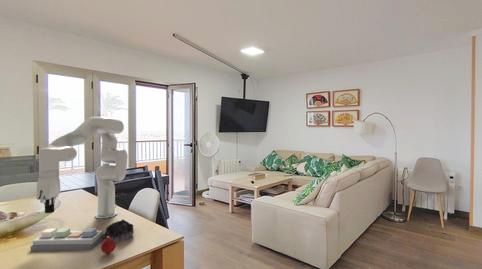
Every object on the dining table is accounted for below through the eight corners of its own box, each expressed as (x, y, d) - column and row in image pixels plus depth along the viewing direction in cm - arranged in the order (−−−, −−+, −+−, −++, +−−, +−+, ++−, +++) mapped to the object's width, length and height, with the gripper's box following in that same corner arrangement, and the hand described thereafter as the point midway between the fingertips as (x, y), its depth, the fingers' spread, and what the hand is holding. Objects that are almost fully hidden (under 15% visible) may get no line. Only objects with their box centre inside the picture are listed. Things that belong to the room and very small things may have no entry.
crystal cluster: (106, 235, 132) (104, 217, 130) (134, 229, 137) (132, 212, 135) (103, 248, 119) (100, 228, 118) (134, 241, 124) (132, 222, 123)
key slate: (87, 233, 123) (87, 228, 123) (96, 233, 123) (96, 228, 123) (82, 236, 118) (82, 231, 118) (91, 236, 119) (91, 231, 119)
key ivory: (47, 233, 122) (47, 228, 122) (56, 233, 122) (56, 228, 122) (41, 237, 117) (41, 232, 117) (50, 237, 118) (50, 232, 118)
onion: (118, 250, 114) (118, 233, 113) (112, 257, 108) (111, 238, 108) (105, 251, 113) (104, 233, 113) (98, 257, 108) (98, 239, 107)
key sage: (61, 233, 122) (61, 228, 122) (70, 233, 122) (70, 228, 122) (55, 237, 118) (55, 232, 118) (64, 237, 118) (64, 231, 118)
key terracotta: (74, 237, 122) (74, 232, 122) (83, 237, 123) (83, 232, 123) (69, 241, 118) (69, 235, 118) (78, 241, 118) (78, 235, 118)
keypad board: (50, 238, 126) (50, 230, 126) (104, 237, 127) (104, 229, 127) (30, 250, 113) (30, 241, 113) (90, 249, 114) (90, 240, 114)
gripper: (51, 171, 126) (52, 207, 126) (28, 176, 111) (29, 218, 112) (67, 171, 127) (67, 207, 127) (46, 176, 112) (46, 218, 112)
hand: (49, 212), depth 119 cm, fingers closed
